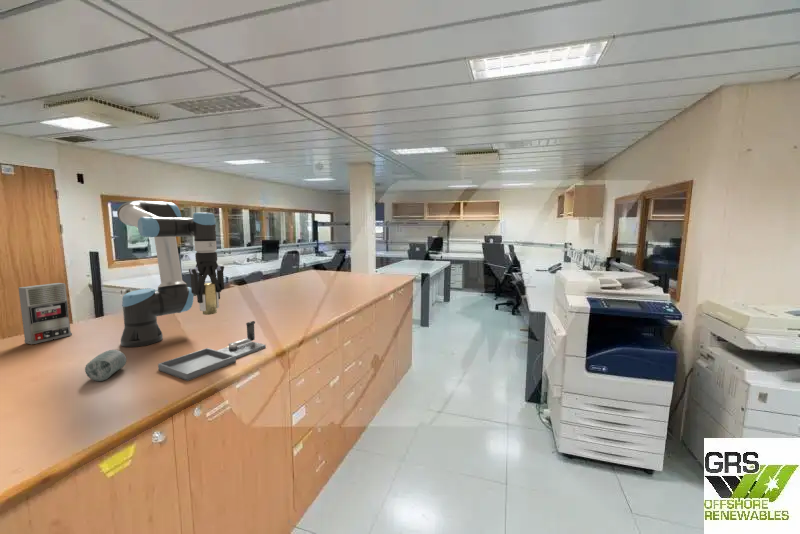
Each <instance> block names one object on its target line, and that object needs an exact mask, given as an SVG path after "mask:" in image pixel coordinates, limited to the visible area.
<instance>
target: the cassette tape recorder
mask: <svg viewBox="0 0 800 534" xmlns="http://www.w3.org/2000/svg"><path fill="white" fill-rule="evenodd" d="M66 285H67V284H66V283H64V282H54V283H47V284H37V285H29V286H20V287H18V296H19V303H20V311H21V320H22V321H21V322H22V327H23V336H24V340H23V341H24V344H29V345H32V344H35V345H37V344H39V343H40V344H41V343H44V342H49V341H54V340H57V339H63V338H66V337H71V336H73V333H72V332H71V325H70V324H71V323H70V314H69V306H68V296H67V295H68V293H67V288H66V287H67V286H66ZM70 335H71V336H70ZM53 339H54V340H53Z"/></svg>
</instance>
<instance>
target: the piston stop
mask: <svg viewBox="0 0 800 534" xmlns="http://www.w3.org/2000/svg"><path fill="white" fill-rule="evenodd" d="M203 294H204V295H205V302H206V311H202V315H207V316H208V315H215V314H217V313H218V308H217V304H216V287H215V283H211V282H205V285H204V291H203Z"/></svg>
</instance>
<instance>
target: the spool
mask: <svg viewBox="0 0 800 534" xmlns="http://www.w3.org/2000/svg"><path fill="white" fill-rule="evenodd" d="M126 364H127V357H126V355H125V353H124V352H123V351H120V350H118V349H109V350H105V351H104V352H102V353H100V354H98V355H96V356H95V357H94V358H92V359H91V360H90V361H89V362H88V363H87V364H86V365H85V367H84V372H85V374H86V376H87V377H88V378H89V379H91V380H92V381H96V382H103V381H106V380H108V379H109V378H110V377H111V376H112V375H113V374H115V373H116V372H118V371H119V370H121V369H122V368H124V366H125V365H126Z"/></svg>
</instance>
